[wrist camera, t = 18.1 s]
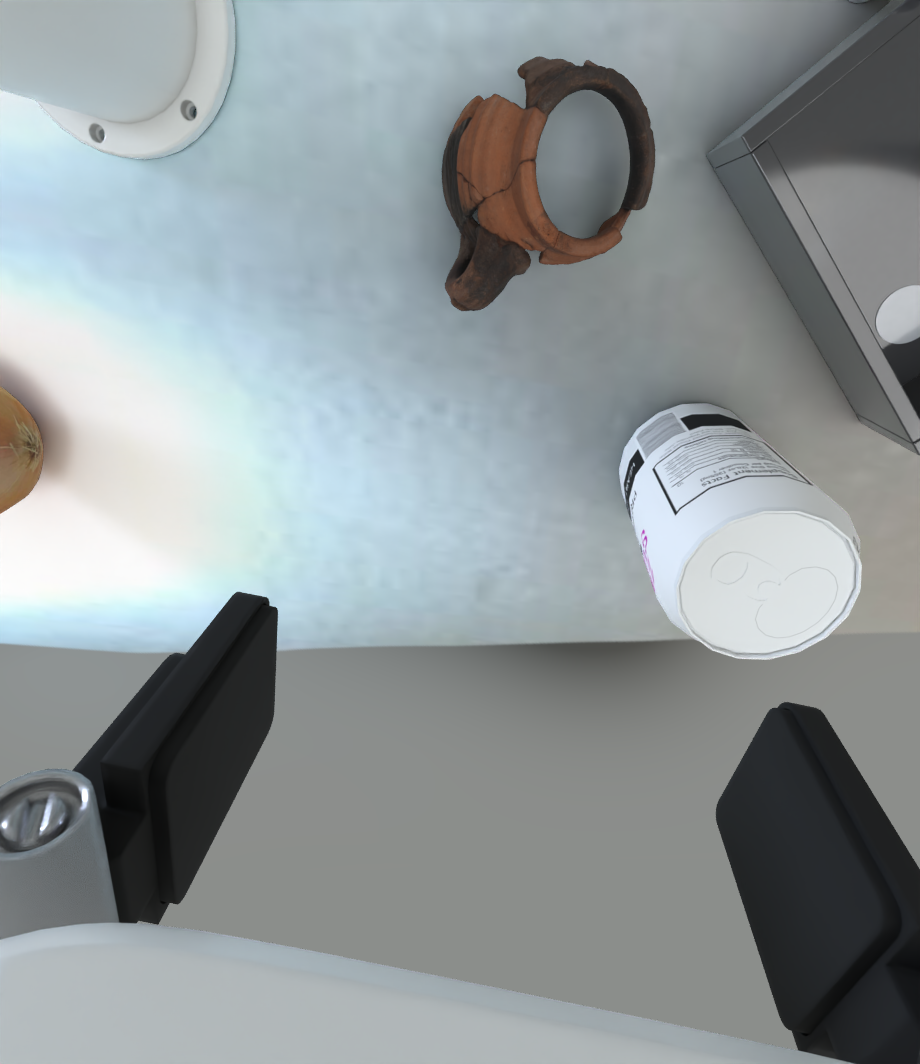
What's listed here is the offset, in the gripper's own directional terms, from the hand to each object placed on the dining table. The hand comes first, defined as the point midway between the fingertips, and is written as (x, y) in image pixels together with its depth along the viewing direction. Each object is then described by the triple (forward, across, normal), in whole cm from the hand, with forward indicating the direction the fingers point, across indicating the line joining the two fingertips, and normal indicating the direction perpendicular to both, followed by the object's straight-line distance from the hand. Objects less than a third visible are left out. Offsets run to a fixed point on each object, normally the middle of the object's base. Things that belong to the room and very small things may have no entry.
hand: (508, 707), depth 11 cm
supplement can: (+28, -11, +3) cm, 30 cm away
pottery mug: (+28, +2, -9) cm, 30 cm away
